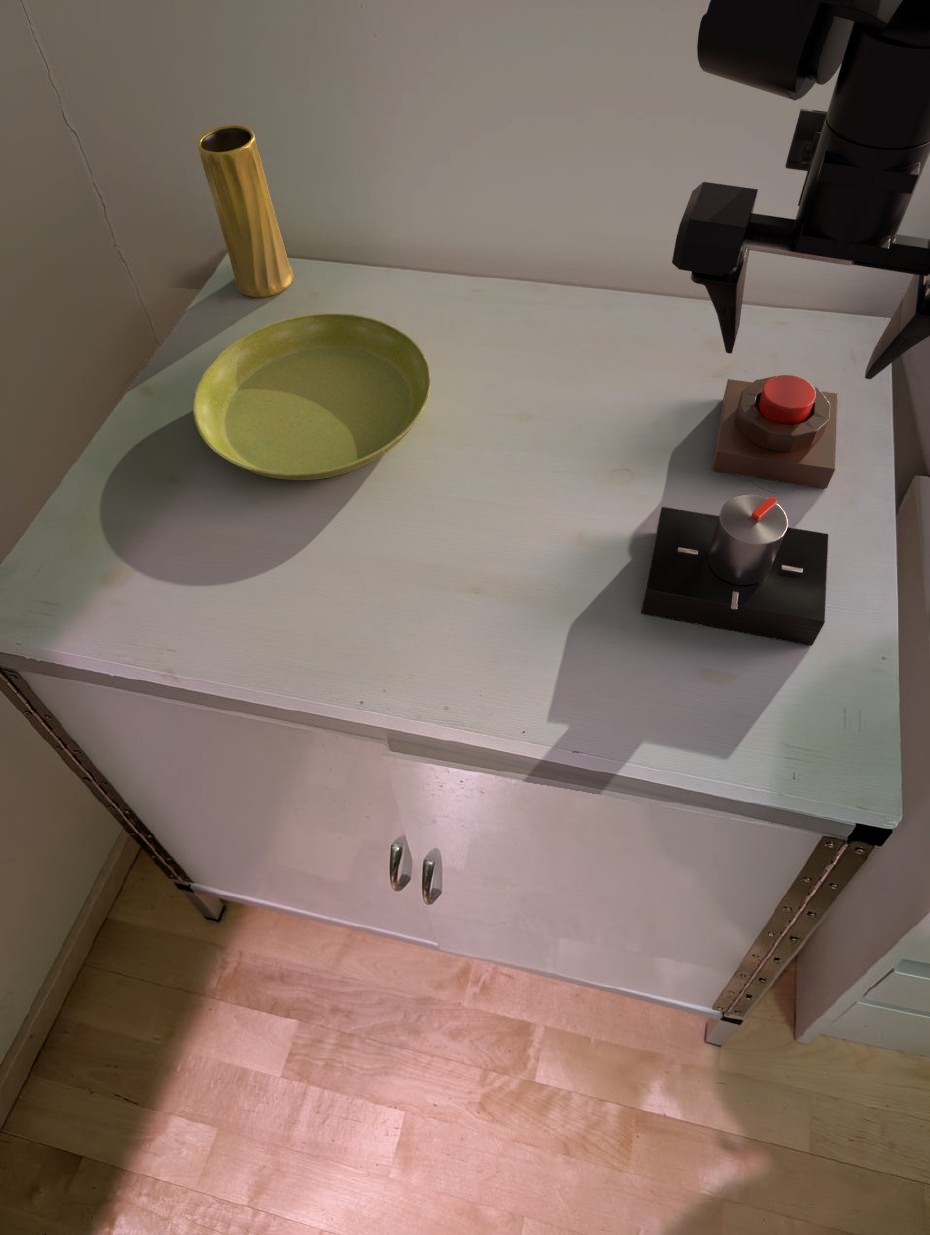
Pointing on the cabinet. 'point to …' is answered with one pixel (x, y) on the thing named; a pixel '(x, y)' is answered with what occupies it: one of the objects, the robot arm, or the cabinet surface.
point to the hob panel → (765, 608)
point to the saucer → (312, 395)
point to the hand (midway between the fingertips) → (797, 362)
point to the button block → (775, 439)
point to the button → (787, 399)
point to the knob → (747, 539)
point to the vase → (245, 210)
